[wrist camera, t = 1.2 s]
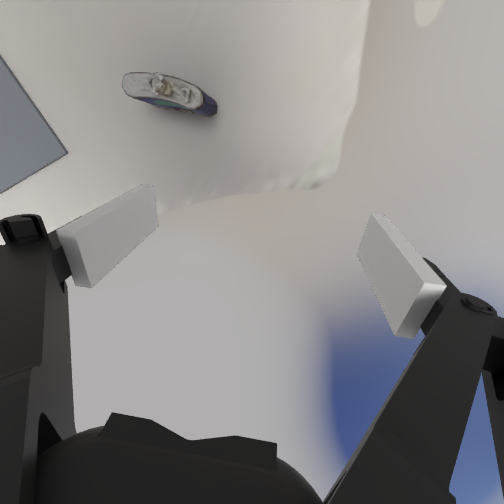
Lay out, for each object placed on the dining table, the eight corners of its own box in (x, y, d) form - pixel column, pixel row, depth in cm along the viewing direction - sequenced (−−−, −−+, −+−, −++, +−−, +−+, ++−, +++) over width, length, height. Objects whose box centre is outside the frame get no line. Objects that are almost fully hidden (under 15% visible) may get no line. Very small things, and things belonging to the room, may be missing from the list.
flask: (152, 107, 35) (111, 92, 26) (153, 82, 34) (110, 57, 24) (217, 119, 36) (200, 109, 26) (219, 96, 35) (203, 76, 25)
